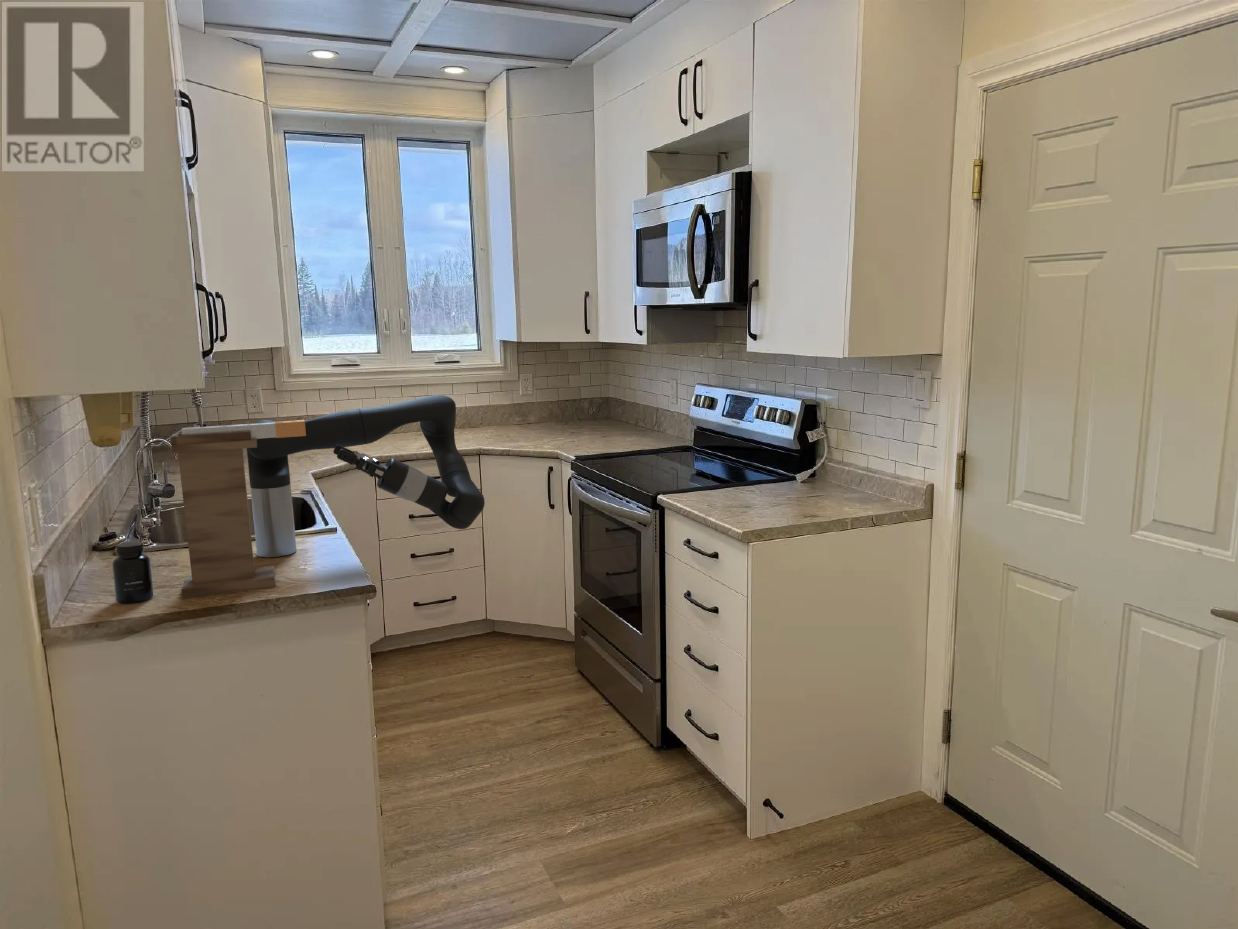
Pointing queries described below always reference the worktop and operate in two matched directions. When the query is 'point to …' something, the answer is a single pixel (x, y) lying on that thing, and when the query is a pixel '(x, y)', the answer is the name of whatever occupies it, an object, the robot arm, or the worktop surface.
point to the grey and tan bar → (255, 429)
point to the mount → (217, 514)
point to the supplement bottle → (132, 574)
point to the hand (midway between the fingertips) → (336, 450)
